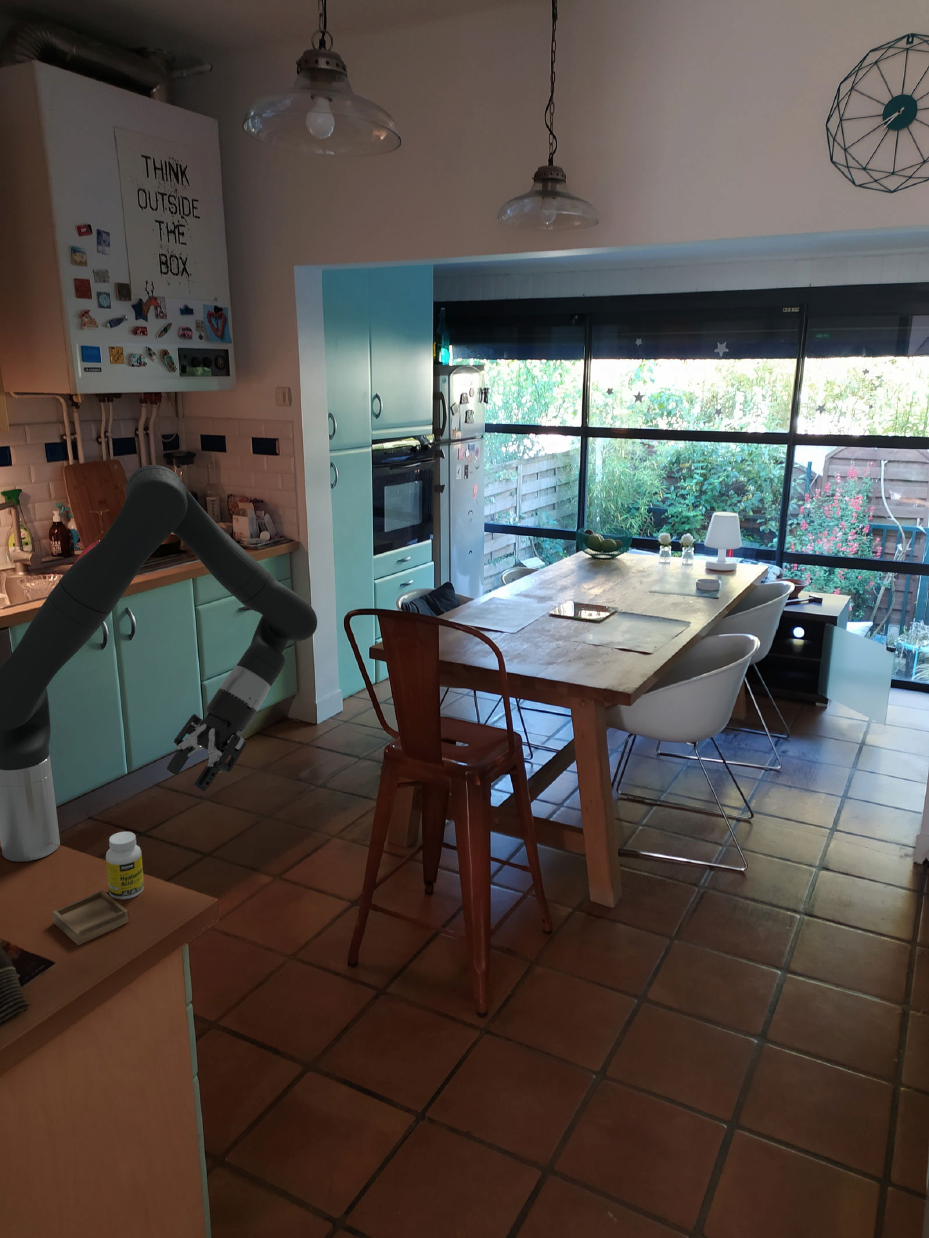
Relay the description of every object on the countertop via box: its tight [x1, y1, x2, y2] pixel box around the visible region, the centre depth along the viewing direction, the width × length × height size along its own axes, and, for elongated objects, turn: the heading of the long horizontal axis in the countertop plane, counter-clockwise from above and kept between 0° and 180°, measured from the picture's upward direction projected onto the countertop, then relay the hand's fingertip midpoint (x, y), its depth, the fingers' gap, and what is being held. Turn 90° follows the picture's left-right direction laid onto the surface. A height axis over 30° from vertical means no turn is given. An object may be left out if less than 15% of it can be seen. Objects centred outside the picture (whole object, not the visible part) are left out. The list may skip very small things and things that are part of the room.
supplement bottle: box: [105, 831, 145, 900], centre depth 147 cm, size 5×5×10 cm
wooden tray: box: [52, 890, 130, 946], centre depth 140 cm, size 8×8×2 cm
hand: (184, 780), depth 152 cm, fingers open, 8 cm apart
